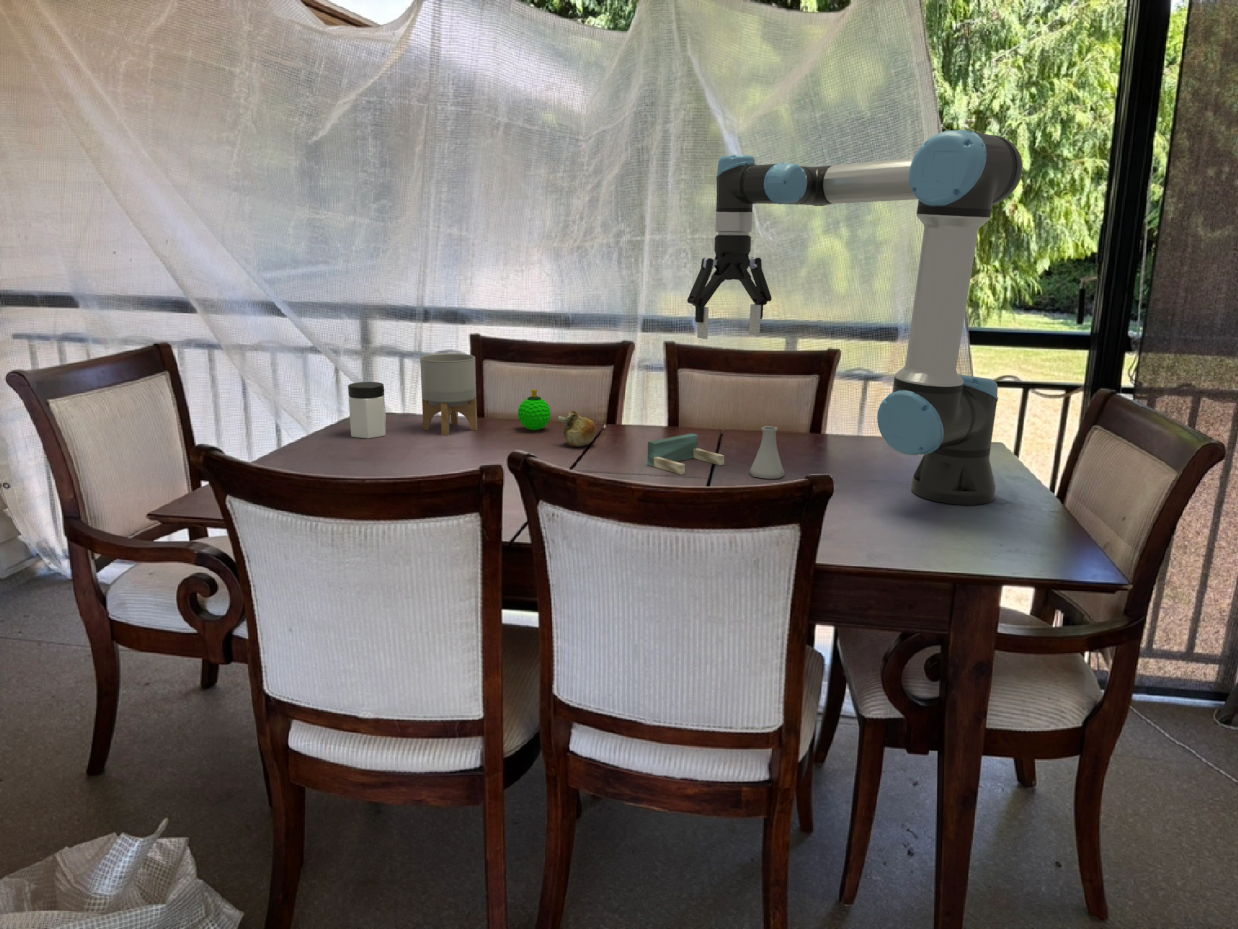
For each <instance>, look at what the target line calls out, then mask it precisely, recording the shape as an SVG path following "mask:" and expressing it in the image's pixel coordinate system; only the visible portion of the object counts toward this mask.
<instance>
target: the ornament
mask: <svg viewBox="0 0 1238 929" xmlns="http://www.w3.org/2000/svg"><path fill="white" fill-rule="evenodd" d="M530 390H531V396H528V397H527V398H526V399H524V400H523V401H522V402H521V403H520V404H519V406H518V411H517V414H518V415H517V417H518V418H519V422H520V423H521V425H522V426H524V427H525V429H527V430H531V431H540V430H542V429H544V428H545V427H546V426H547V425H548V423H549V422H550V421H551V417H552V414H551V413H552V411H551V407H550V405H549V403H548V402H546V401H545V399H542V397H541V396H538V394H537V392H538V389H530Z"/></svg>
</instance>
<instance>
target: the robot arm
mask: <svg viewBox="0 0 1238 929" xmlns="http://www.w3.org/2000/svg"><path fill="white" fill-rule="evenodd" d="M755 161H756V160H755V157H754V156H753V155H750V154H749V155H748V154H727V155H726V154H725V155H722V156H721V157H720V158H719V159H718V161H717V162H718V163H717V171H716V203H715V206H716V207H715V226H714V228H715V229H714V231H715V232H716V233H717V234H716V235H715V236H714V245H713V246H714V253H715V256H714V258H712V257H702V259H701V263H700V269H699V272H698V275H697V277H696V278H695V282H694V284H693V285H692V288H691V291H690V292H689V295H688V297H687V299H686V301H687V303H688V304H690V305H692V306H693V307H695V311H694V312H695V314H694V316H695V317H694V320H695V322H696V323H697V335H696V337H697V339H702V340H708V338H709V336H708V335H709V310H710V308H709V307H708V306H706V305H707V304H708V303H709V301H710V299H711V298H712V297H713V296H714V294H715V293H716V291H717V290H718V288H719V287H720V285H721V284H722V283H723V282H725V281H731V280H734V281H739V282H740V283H741V285H742V286H743V288H744V289H745V291H746V293H747V294H748V296H749V297H750V299H751V301H752V302H753V303H752V304H750V306H749V324H748V325H749V327H748V328H749V329H748V335H751V336H755V337H758V336H760V334H761V333H760V330H761V320H763V318H764V315H763V314H764V306H766V305H767V304H768V302H771V301H772V294H771V292H770V289H769V286H768V283H767V280H766V277H765V274H764V270H763V266H762V264H763V263H762V258H761V257H749V254H750V253H751V250H752V249H751V248H752V237H751V235H750V234H749V233H752V231H753V230H752V229H753V228H752V227H753V208H754V205H756V204H758V205H762V204H764V205H797V206H798V205H803V206H814V207H823V206H829V205H834V204H837V205H838V204H855V203H857V204H859V203H875V202H893V201H895V202H896V201H910V200H911V201H912V200H918V202H917V208H916V218H918V220H920V222H921V223H922V224H923V225H922V226H923V232H922V233H923V234H922V242H921V249H920V255H919V256H920V257H919V262H918V263H919V264H918V270H917V272H918V273H917V277H916V285H915V286H916V287H915V292H914V300H913V307H912V313H911V321H910V327H909V336H908V342H907V350H906V356H905V363H904V366H903V367H902V368H901V369H899V370H898V371H897V372H896V373H895V374H894V378H893V379H894V380H893V385H892V392H891V393H889V394H888V395H887V396H886V397H885V398H884V399H883V400H882V401H881V403H880V404H879V406H878V410H877V416H876V420H877V421H876V422H877V428H878V431H879V433H880V435H881V437H882V438H883V439H884V440H885V442H886V443H887V445H888V446H889V447H890V448H891V449H893V450H894V451H896V452H898V453H900V454H904V455H906V456H918V455H922V456H921V459H920V461H919V463H918V465H917V467H916V470H915V472H914V474H913V476H912V479H911V487H910V488H911V489H910V490H911V493H913V494H914V495H916V496H918V497H921V498H922V499H926V500H929V501H933V502H938V503H943V504H949V505H959V506H960V505H962V506H963V505H964V506H975V505H978V506H979V505H984V504H989V503H991V502H993V501H994V500H995V496H996V483H995V482H996V481H995V478H994V477H995V476H994V473H993V469H992V466H991V460H990V455H991V448H992V441H993V432H994V426H995V419H996V413H997V412H996V410H997V404H998V401H999V396H998V391H999V386H998V384H997V382H996V381H995V380H994V379H993V378H992V379H990V378H987V377H980V376H973V375H965V374H959V373H958V371H957V369H958V368H957V367H958V362H959V356H960V349H961V343H962V342H961V341H962V337H963V329H964V323H965V316H966V311H967V303H968V296H969V291H970V285H971V279H972V271H973V265H974V259H975V253H976V247H977V241H978V234H979V229H980V228H981V227H982V226H983V225H985V224H986V223H987V222H989V221H990V220H991V213H992V207H993V206H994V205H996V204H1000V203H1001V202H1003V201H1004V200H1006V199H1008V198H1009V196H1011V195H1012V193H1014V191H1015V190H1016V189H1017V187H1018V186H1019V185H1020V182H1021V179H1022V176H1023V171H1024V170H1023V168H1024V166H1023V165H1024V164H1023V158H1022V155H1021V153H1020V151H1019V149H1018V147H1017V146H1016V145H1015V144H1014V143H1013V142H1011V141H1010V140H1009V139H1007V138H1005V137H1003V136H999V135H994V134H988V133H983V132H982V133H981V132H977V131H972V130H968V129H966V130H964V129H959V130H953V129H952V130H944V131H941V132H938V133H936V134H935V135H934V134H933V136H931V137H929V138H928V139H927V140H926V141H925V142H924V143H923V144H922V145H921V146H920V147H919V148H918V149H917V151H916V153H914V156H913V157H907V158H898V159H897V158H896V159H886V160H876V161H874V160H873V161H866V162H865V161H864V162H857V163H856V162H855V163H844V164H843V163H842V164H833V165H823V166H822V165H820V166H805V165H804V166H803V165H800V164H798V163H794V162H792V163H790V162H778V163H769V164H768V163H767V164H756V162H755ZM714 268H715V271H713V269H714ZM748 268H750V272H749V271H748ZM712 271H713V273H712ZM750 273H751V274H750ZM710 277H711V278H710ZM752 278H753V279H752ZM709 279H710V280H709Z"/></svg>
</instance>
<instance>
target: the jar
mask: <svg viewBox="0 0 1238 929" xmlns="http://www.w3.org/2000/svg"><path fill="white" fill-rule="evenodd" d="M347 392H348V394H347V395H348V409H349V410H348V411H349V425H350V437H351V438H361V439H374V438H380V437H385V436H386V435H387V434H386V433H387V425H386V422H387V420H386V419H387V417H386V414H387V413H386V405H385V404H386V403H385V385H384V383H382V382H378V381H361V382H359V381H358V382H352V383H349V384H348V385H347Z"/></svg>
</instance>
